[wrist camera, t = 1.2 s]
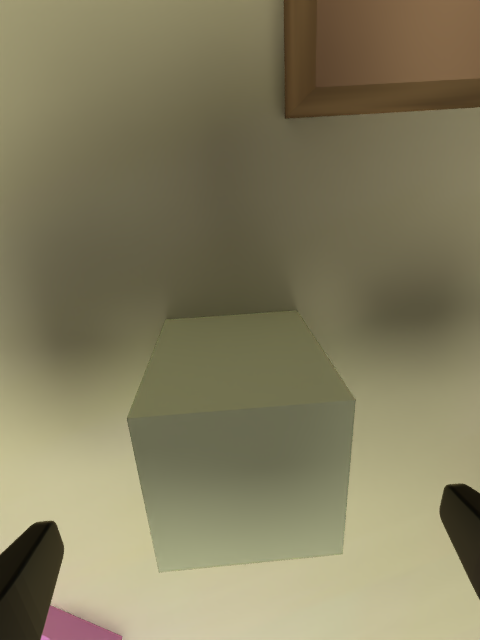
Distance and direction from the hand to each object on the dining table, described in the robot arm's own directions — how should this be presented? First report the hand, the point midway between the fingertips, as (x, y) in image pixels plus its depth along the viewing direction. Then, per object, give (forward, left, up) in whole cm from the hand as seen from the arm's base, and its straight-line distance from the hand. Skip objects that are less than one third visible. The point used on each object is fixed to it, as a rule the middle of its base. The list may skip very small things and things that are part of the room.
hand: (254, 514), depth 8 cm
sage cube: (0, 0, -7) cm, 7 cm away
